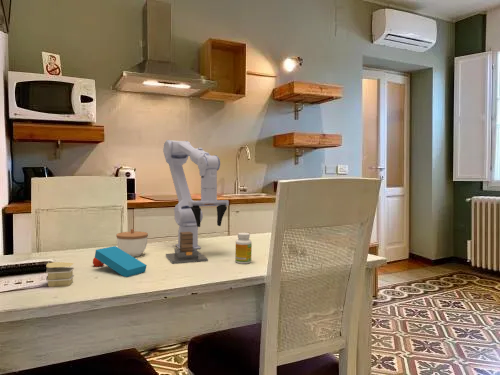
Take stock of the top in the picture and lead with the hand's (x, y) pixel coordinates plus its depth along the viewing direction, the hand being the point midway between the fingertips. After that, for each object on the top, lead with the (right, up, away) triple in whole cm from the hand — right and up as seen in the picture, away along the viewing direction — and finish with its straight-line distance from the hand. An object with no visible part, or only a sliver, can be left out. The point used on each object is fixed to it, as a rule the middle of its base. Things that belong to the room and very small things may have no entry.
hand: (208, 226), depth 146 cm
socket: (-7, -11, -6) cm, 14 cm away
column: (-7, -9, -6) cm, 13 cm away
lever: (-26, -12, -22) cm, 36 cm away
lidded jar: (-27, -10, -2) cm, 29 cm away
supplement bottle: (+13, -11, -10) cm, 20 cm away
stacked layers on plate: (-36, -12, -38) cm, 54 cm away
